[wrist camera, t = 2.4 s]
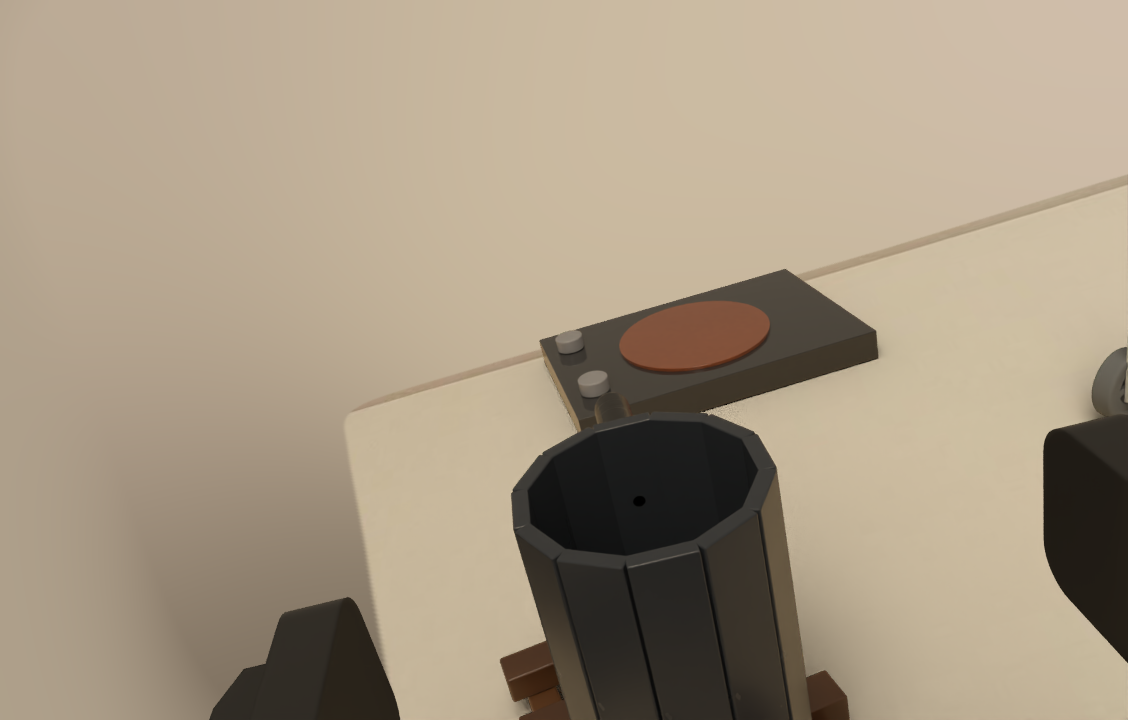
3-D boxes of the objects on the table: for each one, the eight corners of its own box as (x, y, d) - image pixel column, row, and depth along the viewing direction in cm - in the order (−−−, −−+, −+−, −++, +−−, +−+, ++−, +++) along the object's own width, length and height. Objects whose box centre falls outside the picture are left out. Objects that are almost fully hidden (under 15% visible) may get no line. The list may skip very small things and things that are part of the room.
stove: (584, 447, 45) (574, 406, 44) (544, 363, 55) (536, 328, 54) (878, 358, 47) (875, 316, 46) (788, 291, 57) (784, 256, 56)
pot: (847, 812, 23) (810, 524, 19) (601, 869, 23) (516, 593, 19) (726, 532, 34) (688, 314, 30) (561, 571, 34) (502, 359, 30)
